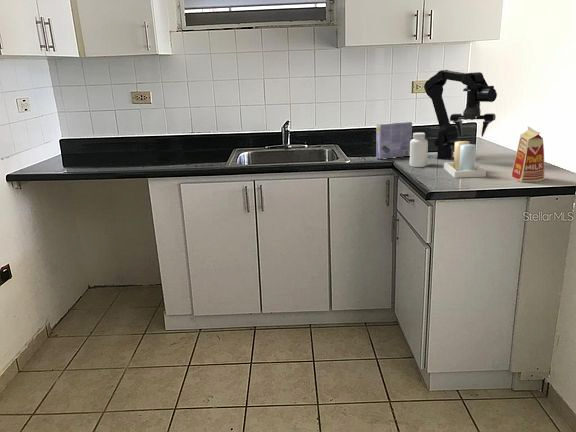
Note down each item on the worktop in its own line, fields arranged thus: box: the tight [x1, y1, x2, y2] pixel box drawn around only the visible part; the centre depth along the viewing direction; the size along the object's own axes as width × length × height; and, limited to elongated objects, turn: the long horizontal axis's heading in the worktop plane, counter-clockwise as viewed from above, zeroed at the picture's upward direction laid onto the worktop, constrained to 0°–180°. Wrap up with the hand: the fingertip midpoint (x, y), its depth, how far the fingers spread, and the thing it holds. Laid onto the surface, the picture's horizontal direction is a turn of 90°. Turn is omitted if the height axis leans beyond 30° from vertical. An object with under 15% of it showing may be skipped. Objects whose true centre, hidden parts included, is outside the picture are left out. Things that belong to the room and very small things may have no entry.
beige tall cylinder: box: [453, 140, 471, 169], centre depth 209 cm, size 6×6×12 cm
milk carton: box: [510, 126, 545, 183], centre depth 187 cm, size 9×9×20 cm
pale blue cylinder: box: [459, 143, 477, 171], centre depth 201 cm, size 6×6×12 cm
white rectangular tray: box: [443, 161, 487, 179], centre depth 207 cm, size 20×12×3 cm, turn 175°
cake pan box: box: [375, 121, 413, 160], centre depth 250 cm, size 19×5×18 cm, turn 108°
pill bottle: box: [408, 132, 429, 168], centre depth 226 cm, size 8×8×15 cm
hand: (471, 136), depth 226 cm, fingers open, 9 cm apart
